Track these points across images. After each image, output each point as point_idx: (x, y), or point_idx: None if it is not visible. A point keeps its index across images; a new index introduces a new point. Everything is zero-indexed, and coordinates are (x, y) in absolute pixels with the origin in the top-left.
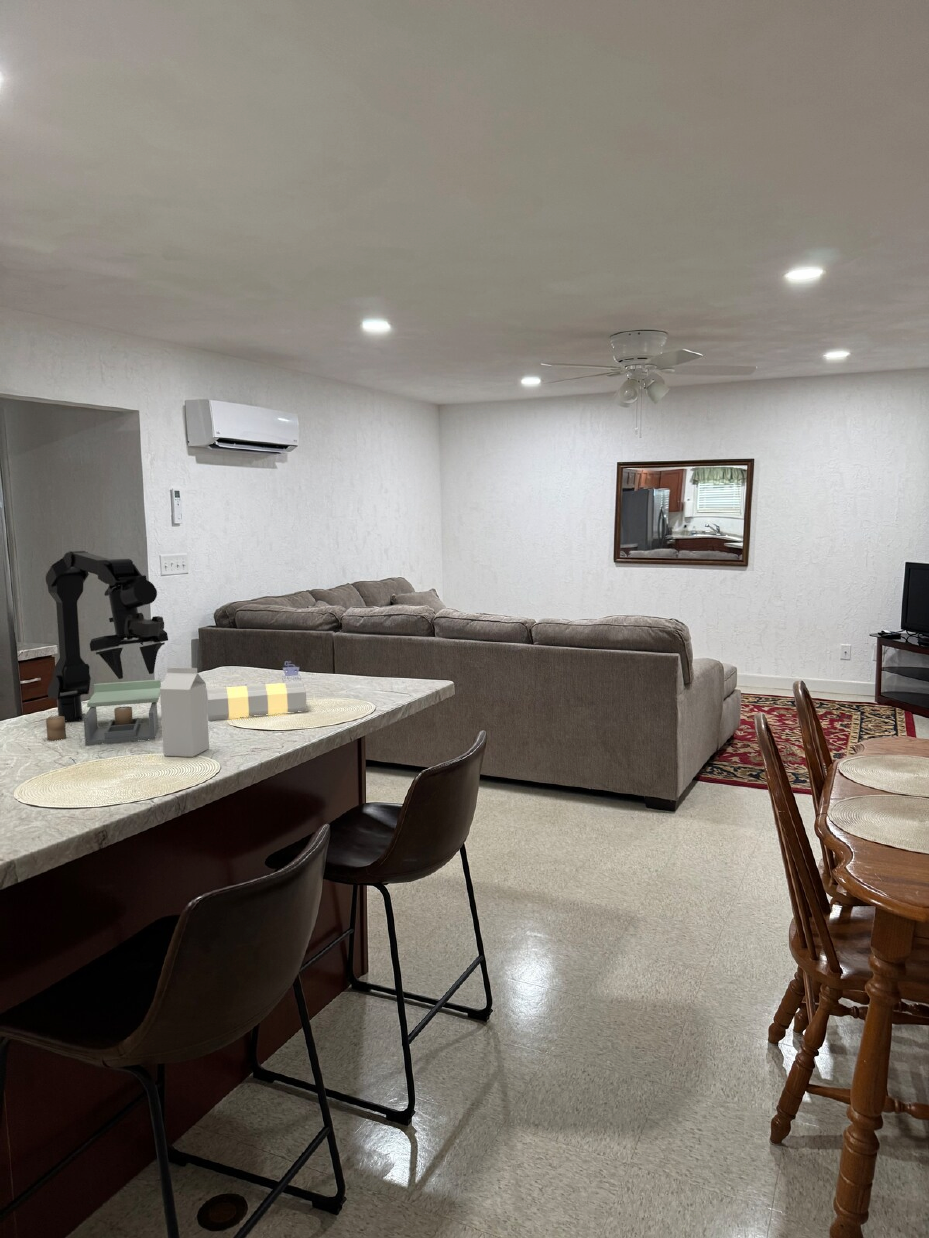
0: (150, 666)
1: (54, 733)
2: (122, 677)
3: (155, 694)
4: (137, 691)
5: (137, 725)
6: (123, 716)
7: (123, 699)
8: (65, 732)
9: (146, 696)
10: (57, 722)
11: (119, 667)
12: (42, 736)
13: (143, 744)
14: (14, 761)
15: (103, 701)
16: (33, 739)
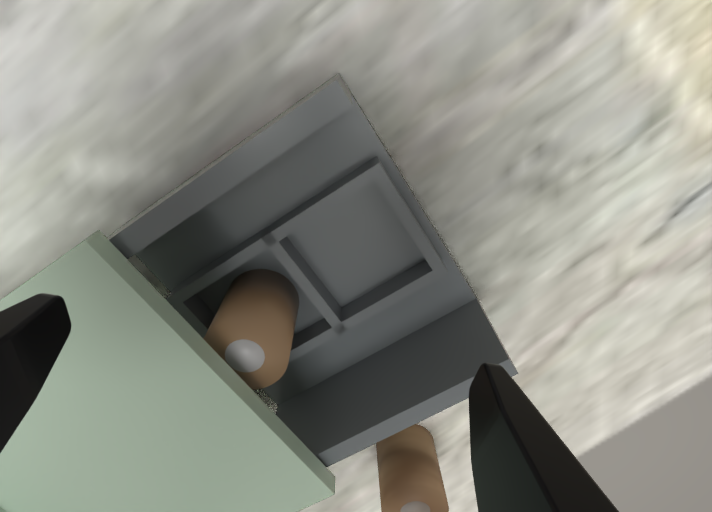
0: (6, 367)
1: (434, 454)
2: (492, 366)
3: None
4: (3, 456)
5: (286, 221)
6: (282, 313)
7: (202, 400)
8: (394, 441)
9: (80, 336)
10: (434, 481)
11: (573, 470)
12: None
13: (428, 71)
14: (687, 379)
15: (277, 456)
16: None
